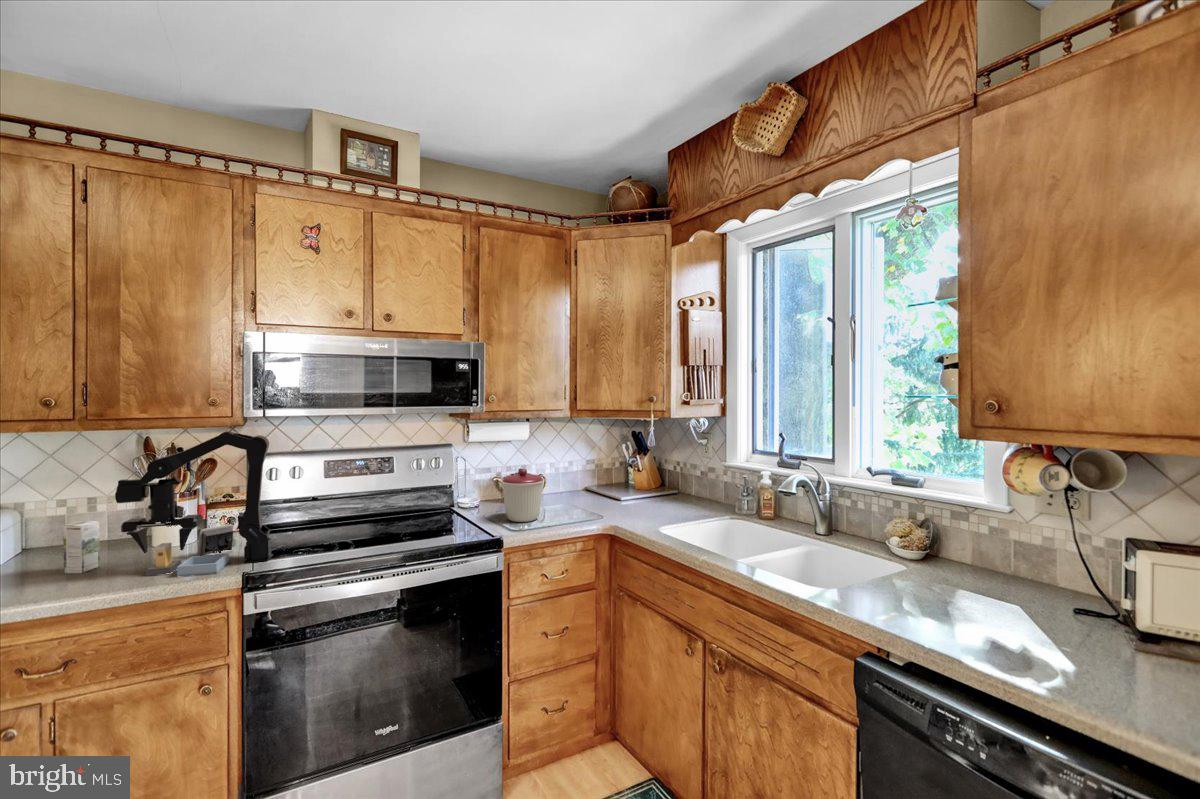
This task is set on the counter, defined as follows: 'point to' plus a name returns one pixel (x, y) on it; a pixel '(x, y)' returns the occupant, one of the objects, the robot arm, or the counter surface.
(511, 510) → the canister
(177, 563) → the block
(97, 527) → the syrup box
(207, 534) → the electrical switch
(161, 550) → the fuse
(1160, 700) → the counter surface
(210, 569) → the parts tray
